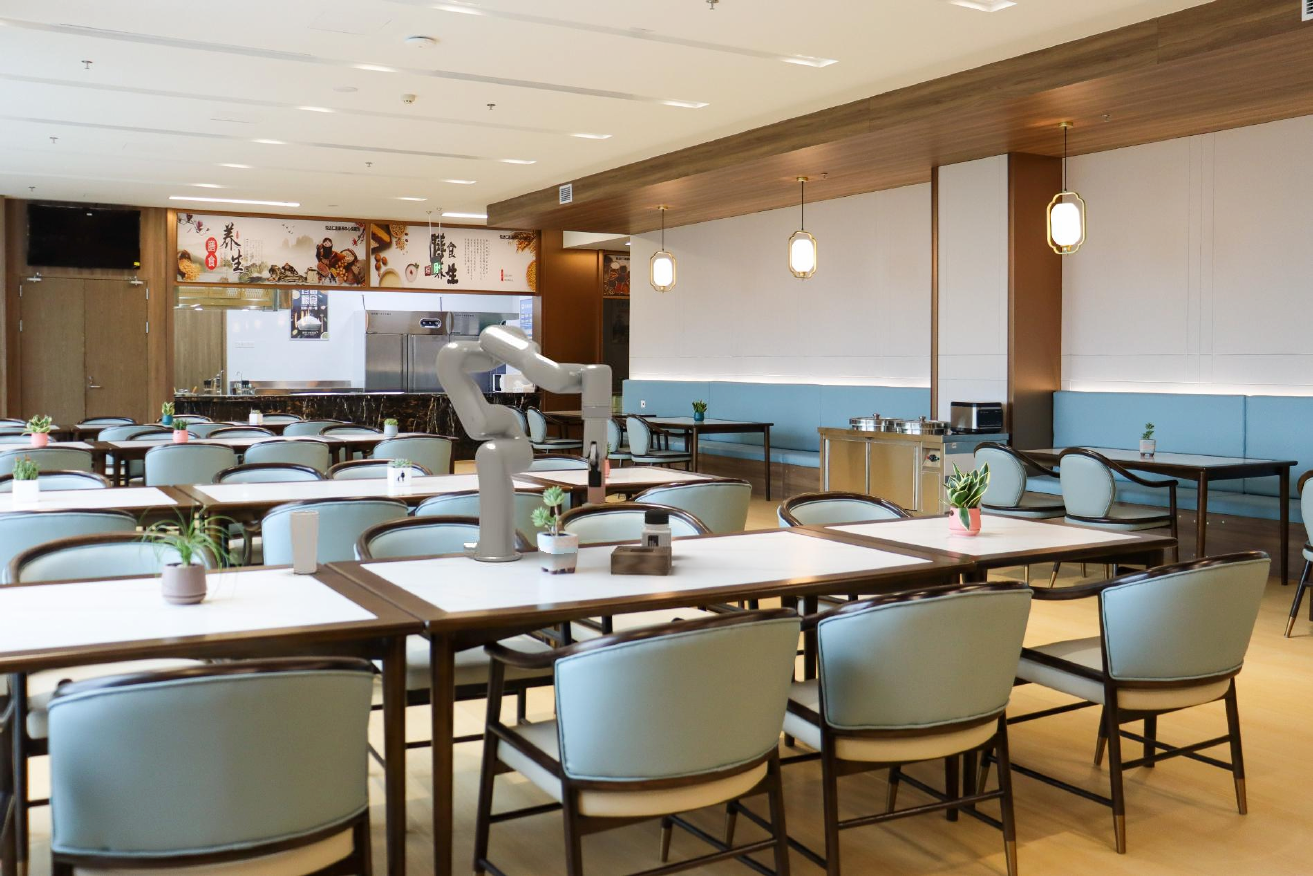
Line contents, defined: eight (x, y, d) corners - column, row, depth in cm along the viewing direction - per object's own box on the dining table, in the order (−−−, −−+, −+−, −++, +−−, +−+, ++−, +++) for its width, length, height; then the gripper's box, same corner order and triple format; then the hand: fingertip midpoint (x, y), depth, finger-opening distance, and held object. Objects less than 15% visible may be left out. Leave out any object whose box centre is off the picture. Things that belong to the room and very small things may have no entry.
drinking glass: (311, 575, 282) (310, 514, 281) (285, 574, 283) (284, 513, 282) (324, 571, 288) (323, 511, 288) (299, 569, 290) (298, 510, 289)
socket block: (610, 574, 286) (610, 554, 286) (617, 564, 300) (617, 545, 300) (667, 575, 285) (667, 555, 285) (671, 566, 299) (671, 546, 299)
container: (670, 560, 307) (671, 511, 306) (641, 560, 307) (641, 511, 307) (671, 556, 315) (671, 508, 314) (642, 555, 315) (642, 508, 314)
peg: (586, 503, 291) (586, 455, 290) (589, 501, 295) (589, 454, 294) (604, 503, 290) (604, 456, 289) (606, 501, 294) (606, 454, 294)
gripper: (587, 412, 300) (586, 482, 301) (576, 414, 283) (576, 489, 284) (615, 412, 299) (615, 483, 300) (606, 415, 282) (606, 489, 284)
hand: (596, 485), depth 292 cm, fingers closed on peg, 4 cm apart
